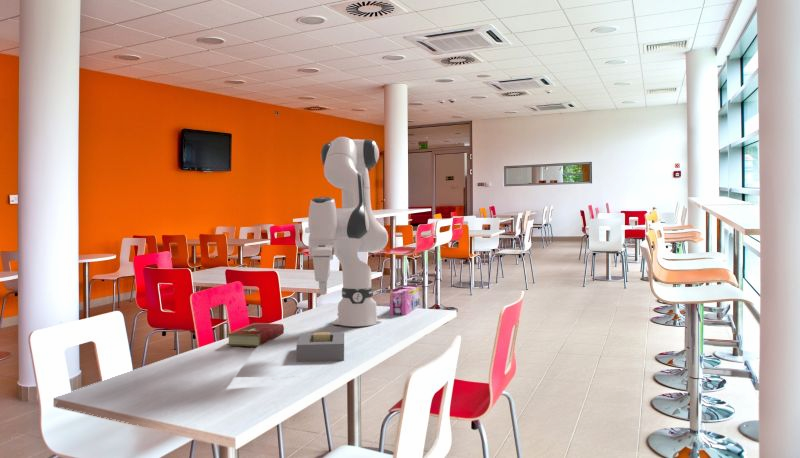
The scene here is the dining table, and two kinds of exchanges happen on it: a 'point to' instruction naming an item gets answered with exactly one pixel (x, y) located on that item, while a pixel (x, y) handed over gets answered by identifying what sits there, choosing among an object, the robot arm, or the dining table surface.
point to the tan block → (321, 337)
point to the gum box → (404, 299)
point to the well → (320, 348)
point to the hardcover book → (255, 334)
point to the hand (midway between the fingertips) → (323, 292)
